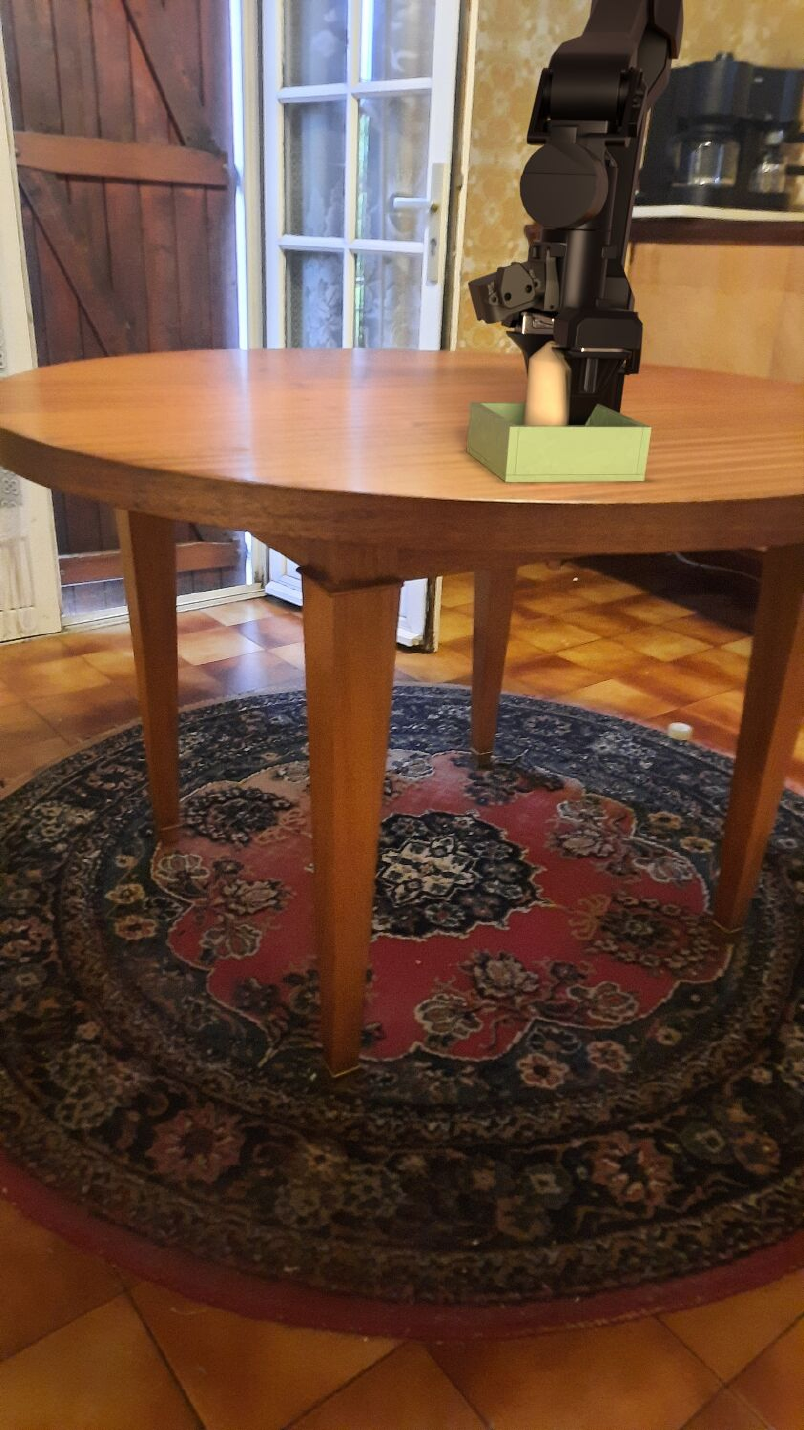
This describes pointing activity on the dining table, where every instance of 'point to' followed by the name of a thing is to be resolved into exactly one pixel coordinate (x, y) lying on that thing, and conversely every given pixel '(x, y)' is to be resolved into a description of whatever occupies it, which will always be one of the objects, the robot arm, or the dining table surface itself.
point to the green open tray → (557, 445)
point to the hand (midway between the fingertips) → (555, 423)
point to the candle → (546, 388)
